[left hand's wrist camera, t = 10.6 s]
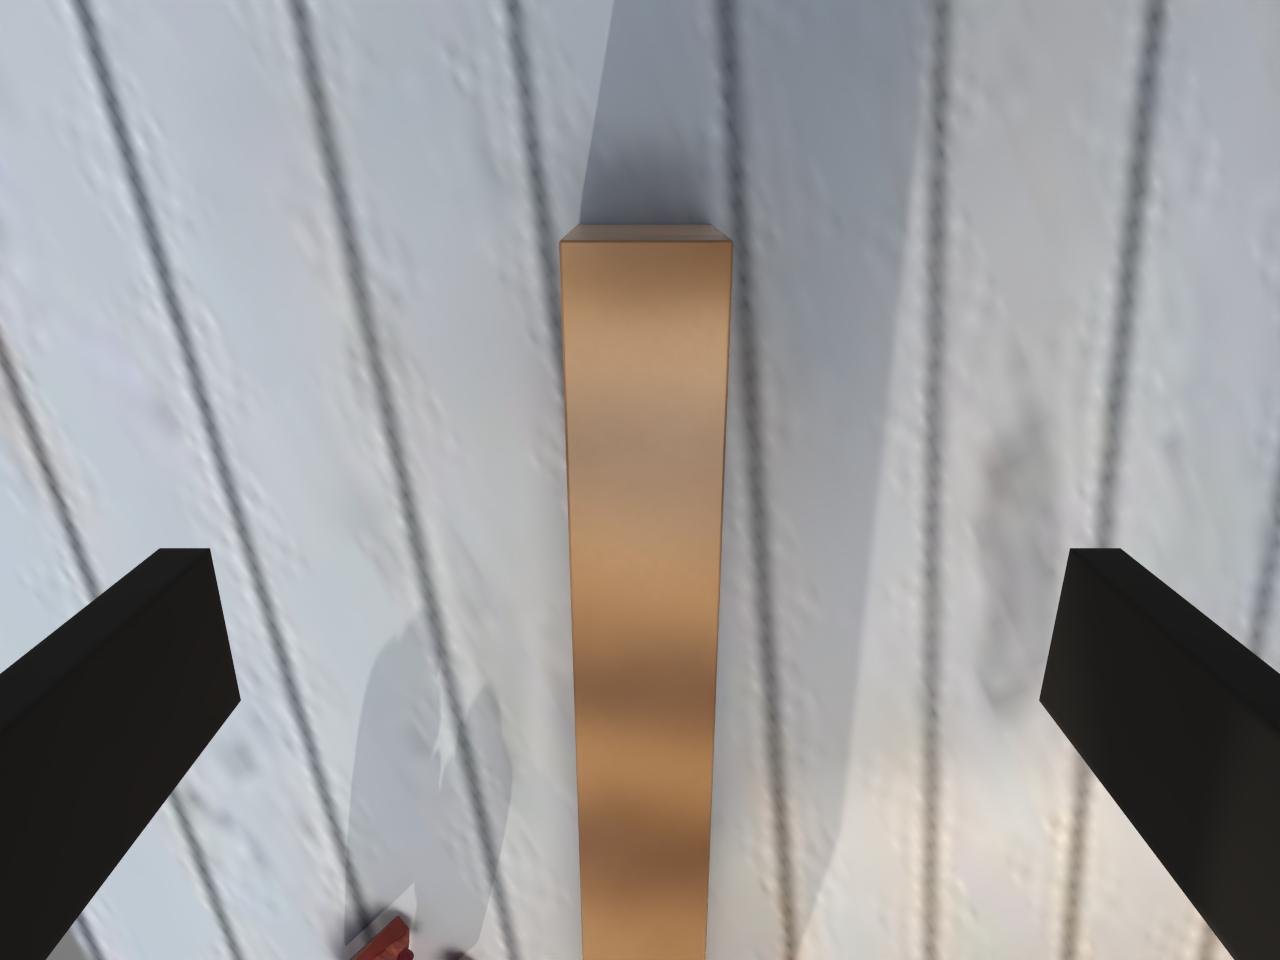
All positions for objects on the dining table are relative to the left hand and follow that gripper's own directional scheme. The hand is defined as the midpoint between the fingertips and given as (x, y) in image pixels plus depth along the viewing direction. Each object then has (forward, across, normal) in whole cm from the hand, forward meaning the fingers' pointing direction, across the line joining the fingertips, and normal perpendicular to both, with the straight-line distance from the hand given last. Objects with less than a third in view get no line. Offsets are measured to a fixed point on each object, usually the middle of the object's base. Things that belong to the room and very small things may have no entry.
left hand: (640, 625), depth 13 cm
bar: (+23, 0, -31) cm, 39 cm away
